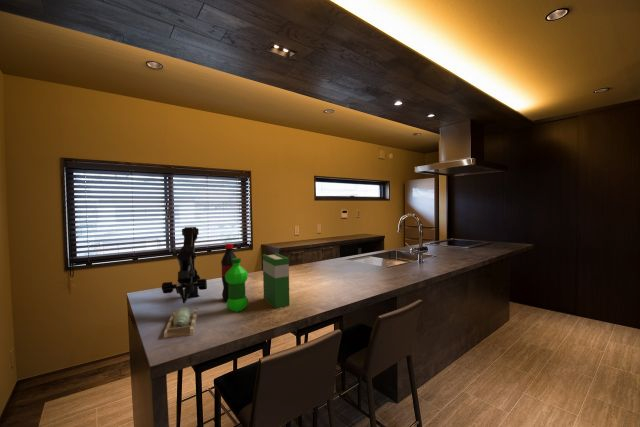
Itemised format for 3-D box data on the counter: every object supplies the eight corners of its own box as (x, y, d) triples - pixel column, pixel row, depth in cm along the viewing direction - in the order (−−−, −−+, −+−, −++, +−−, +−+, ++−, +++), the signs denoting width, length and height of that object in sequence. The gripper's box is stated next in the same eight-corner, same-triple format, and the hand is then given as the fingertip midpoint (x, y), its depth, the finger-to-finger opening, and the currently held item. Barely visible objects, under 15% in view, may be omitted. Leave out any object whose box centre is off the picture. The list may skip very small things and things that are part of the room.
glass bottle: (186, 304, 130) (183, 316, 117) (192, 314, 131) (190, 327, 118) (174, 311, 128) (169, 324, 115) (180, 321, 129) (176, 335, 116)
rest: (173, 316, 134) (173, 308, 134) (198, 313, 138) (197, 306, 138) (164, 339, 112) (163, 330, 112) (193, 335, 115) (193, 326, 115)
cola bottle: (241, 297, 159) (240, 243, 158) (232, 302, 152) (230, 245, 150) (228, 296, 162) (227, 242, 161) (218, 301, 154) (217, 244, 153)
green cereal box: (263, 298, 158) (262, 254, 157) (276, 296, 162) (275, 253, 161) (275, 308, 143) (274, 259, 142) (289, 305, 146) (288, 258, 145)
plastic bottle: (225, 308, 144) (223, 257, 143) (246, 305, 148) (245, 256, 147) (227, 315, 135) (225, 261, 134) (250, 311, 139) (249, 259, 138)
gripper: (161, 264, 132) (157, 296, 122) (205, 261, 138) (205, 291, 128) (165, 277, 140) (161, 308, 130) (207, 274, 146) (206, 303, 136)
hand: (184, 302), depth 130 cm, fingers closed
